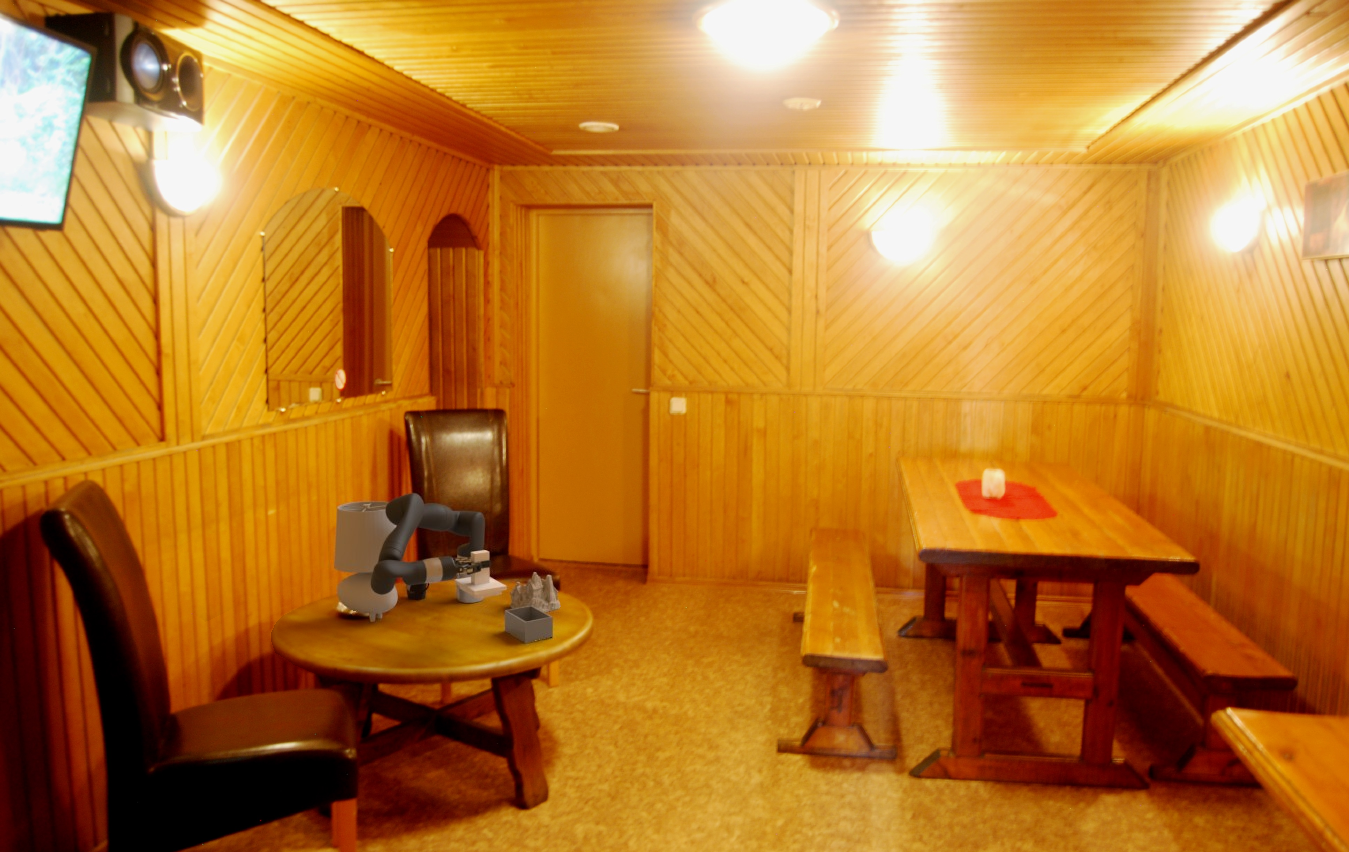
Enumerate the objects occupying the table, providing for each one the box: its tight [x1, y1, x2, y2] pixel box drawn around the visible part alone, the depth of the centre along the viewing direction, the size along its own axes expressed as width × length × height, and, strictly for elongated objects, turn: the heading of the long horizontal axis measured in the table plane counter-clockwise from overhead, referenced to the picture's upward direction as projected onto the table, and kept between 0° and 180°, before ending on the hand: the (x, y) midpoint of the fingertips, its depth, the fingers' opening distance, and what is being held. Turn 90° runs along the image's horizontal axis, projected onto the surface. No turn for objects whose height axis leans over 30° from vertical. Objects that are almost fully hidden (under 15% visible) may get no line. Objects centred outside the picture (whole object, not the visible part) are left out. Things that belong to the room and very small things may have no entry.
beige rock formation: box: [509, 571, 561, 613], centre depth 339 cm, size 16×16×15 cm
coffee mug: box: [405, 583, 430, 601], centre depth 347 cm, size 12×9×10 cm
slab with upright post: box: [453, 549, 508, 599], centre depth 298 cm, size 11×16×13 cm
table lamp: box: [333, 500, 399, 623], centre depth 323 cm, size 23×22×40 cm
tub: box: [504, 606, 554, 644], centre depth 310 cm, size 10×15×7 cm, turn 36°
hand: (488, 562), depth 300 cm, fingers closed on slab with upright post, 3 cm apart
